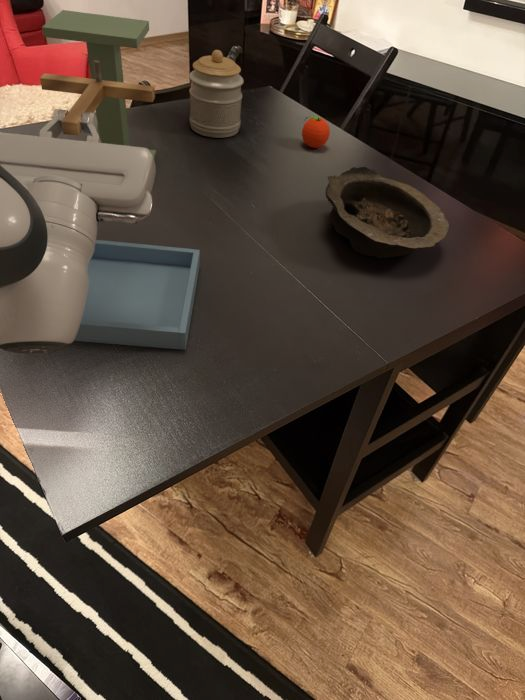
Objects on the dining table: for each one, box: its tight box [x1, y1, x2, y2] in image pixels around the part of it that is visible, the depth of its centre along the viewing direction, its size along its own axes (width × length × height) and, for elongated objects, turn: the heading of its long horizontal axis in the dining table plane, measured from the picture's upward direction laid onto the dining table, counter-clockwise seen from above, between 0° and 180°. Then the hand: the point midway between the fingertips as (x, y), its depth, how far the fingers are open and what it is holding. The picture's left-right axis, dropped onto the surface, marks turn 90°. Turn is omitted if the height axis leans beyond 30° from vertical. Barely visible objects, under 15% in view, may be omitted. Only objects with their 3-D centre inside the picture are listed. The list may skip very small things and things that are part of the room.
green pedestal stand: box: [41, 9, 157, 160], centre depth 96 cm, size 16×12×26 cm
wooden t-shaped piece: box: [39, 60, 156, 137], centre depth 61 cm, size 15×15×4 cm
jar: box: [188, 49, 245, 139], centre depth 116 cm, size 13×13×18 cm
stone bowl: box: [325, 166, 450, 259], centre depth 93 cm, size 25×25×9 cm
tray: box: [73, 239, 201, 351], centre depth 75 cm, size 20×20×4 cm
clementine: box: [301, 115, 331, 149], centre depth 119 cm, size 8×7×7 cm
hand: (76, 114), depth 58 cm, fingers closed on wooden t-shaped piece, 2 cm apart
